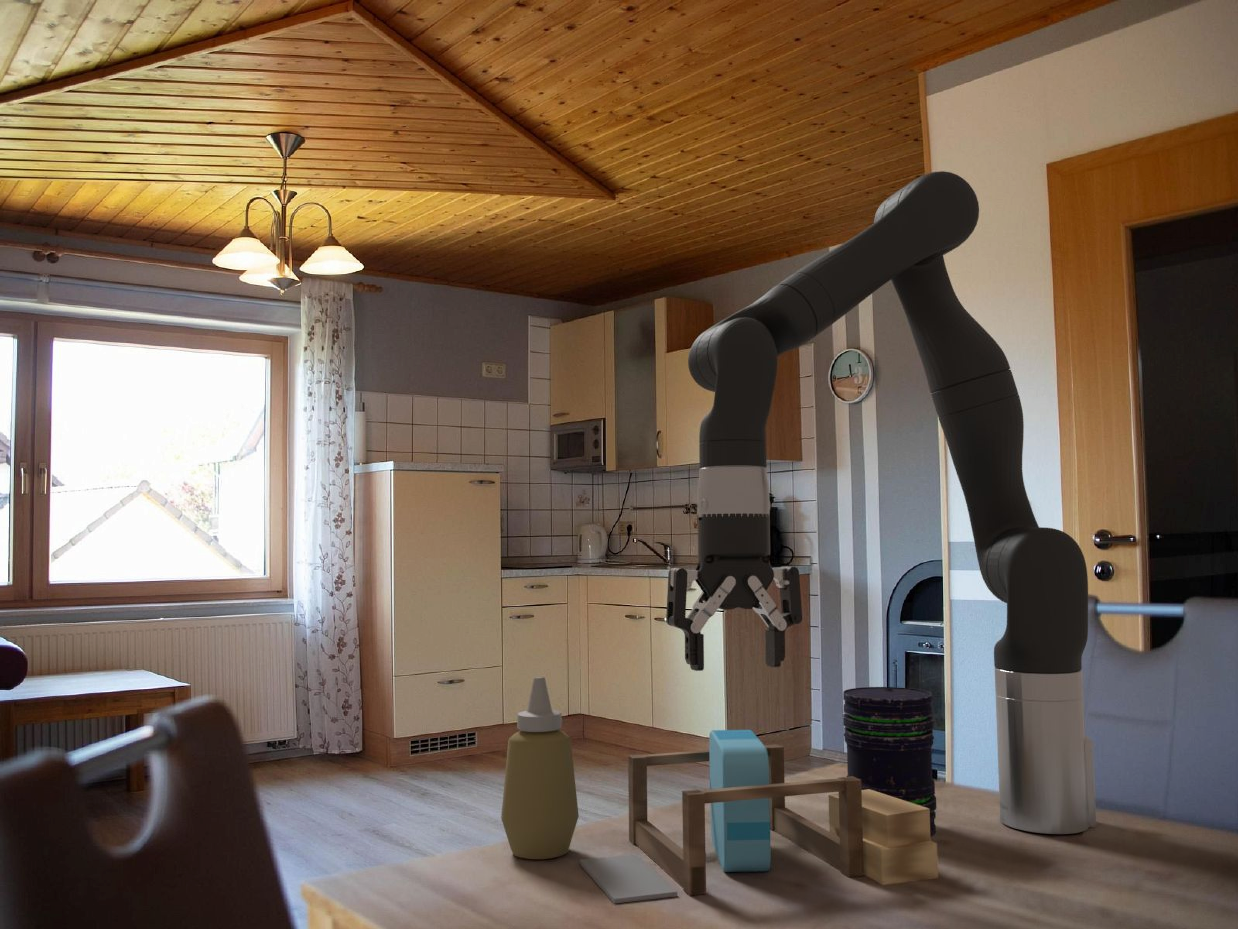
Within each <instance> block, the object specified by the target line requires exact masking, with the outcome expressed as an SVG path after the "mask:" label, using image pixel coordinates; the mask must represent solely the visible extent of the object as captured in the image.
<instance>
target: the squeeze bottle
mask: <svg viewBox="0 0 1238 929" xmlns="http://www.w3.org/2000/svg"><path fill="white" fill-rule="evenodd" d="M532 680H533V681H532V684H531V688H530V695H529V699H528V703H527V708H526V709H527V710H523V711H519V712H518V713H517V714H516V722H517V723H516V726H517V729H518V731H517V732H515V733H513V735H511V736H510V737H509V738H508V741H507V752H506V763H505V764H506V765H505V770H504V771H505V772H504V783H503V784H504V785H503V794H502V802H501V803H502V804H501V816H500V818H501V822H502V826H503V828H504V832H505V834H506V838H507V840H508V844H509V847H510V851H511V852H512V855H513V856H515V857H518V858H520V859H521V858H522V859H527V860H548V859H553V858H558V857H562V856H564V855H565V854H567V853H568V851H569V849H570V846H571V843H572V840H573V835H574V832H575V829H576V826H577V823H578V821H579V816H580V813H579V807H578V795H577V788H576V776H575V767H574V758H573V749H572V740H571V737H570V736H569V735H568V734H567V733H566V732H565V731H563V730H560V729H561V728H562V723H563V722H562V721H563V720H562V718H563V717H562V716H563V715H562V712H561V711H559V710H556V709H555V710H553V709H552V705H551V700H550V699H551V698H550V696H549V692H548V687H547V682H546V678H545V677H543V676H536V677H533V679H532Z"/></svg>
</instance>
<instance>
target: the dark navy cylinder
mask: <svg viewBox="0 0 1238 929" xmlns="http://www.w3.org/2000/svg"><path fill="white" fill-rule="evenodd" d="M842 696H843V700H844V704H843V713H844V714H843V715H842V720H843V721H842V725H843V726H844V733H843V736H844V742H845V743H846V758H847V759H846V760H847V762H846V763H847V766H846V767H847V776H846V777H851V776H853V777H856V778H858V779H860V780H861V790H866V789H870V790H873V791H877V792H880V793H883V794H886V795H889V796H892V797H895V798H898V799H901V800H904V801H907V802H910V803H913V804H916V805H920V806H923V807H926V808H929V809H930V838H932V837H935V835H937V825H936V824H935V822H936V821H935V820H936V809H937V797H936V786H935V785H936V784H935V780H934V778H933V763H932V760H933V758H932V747H933V745H934V739H935V737H934V732H933V729H934V727H935V726H934V717H933V707H932V704H931V703H932V702H933V697H932V696H933V695H932V692H930V691H927V690H923V689H917V688H909V687H897V686H895V687H894V686H867V687H866V686H865V687H855V688H854V687H853V688H848V689H845V690H844V691H843V694H842Z"/></svg>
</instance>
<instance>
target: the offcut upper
mask: <svg viewBox="0 0 1238 929" xmlns="http://www.w3.org/2000/svg"><path fill="white" fill-rule="evenodd" d="M861 791H862V826H863V838H864V839H866V840H869V841H871V842H874V843H877V844H879V845H882V846H884V847H887V848H891V847H896V846H902V845H908V844H914V843H919V842H925V841H932V840H931V838H932V837H931V838H930V809H929V808H926V807H923V806H920V805H916V804H913V803H910V802H907V801H904V800H901V799H898V798H895V797H892V796H889V795H886V794H883V793H880V792H877V791H873V790H870V789H866V790H861ZM828 820H829V821H828V822H829V824H828V825H829V826H830V825H831V826H833V827H836V828H839V829H840V826H839V792H838V793H833V794H828Z"/></svg>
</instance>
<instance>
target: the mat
mask: <svg viewBox="0 0 1238 929" xmlns="http://www.w3.org/2000/svg"><path fill="white" fill-rule="evenodd" d="M579 862H580V863H579V864H580V865H581V867H582V868H583V869H584V870H585V871H586V873H588V875H589V877H591V879H592V880H593V881H594V882H595V883H596V884H597V885H598V886H599V888H600V889H601V891H603V893H604V894H605V895H606V896H607V897H608V898H609V899H610V901H611V902H612V903H613V904H620V903H621V904H622V903H629V902H639V901H647V900H654V899H655V900H656V899H665V898H672V897H673V898H674V897H678V891H677V889H675V888H674V887H673V886H672V885H671V884H670V883H669V882H668V881H667V880H666V879H665V878H664V877H662V876H661V875H660V874H659V873H658V872H657V871H656V870H655V869H654V868H653V867H652V866H651V865H649V864H648V863H647V862H646V861H645V860H644V859H643V858H642V857H641V856H640V855H639V854H638V853H634V854H625V855H623V854H622V855H613V856H612V855H611V856H607V857H606V856H603V857H597V858H596V857H594V858H585V859H584V858H583V859H580V860H579Z"/></svg>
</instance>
